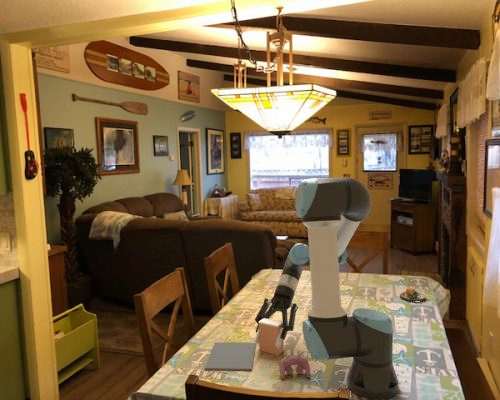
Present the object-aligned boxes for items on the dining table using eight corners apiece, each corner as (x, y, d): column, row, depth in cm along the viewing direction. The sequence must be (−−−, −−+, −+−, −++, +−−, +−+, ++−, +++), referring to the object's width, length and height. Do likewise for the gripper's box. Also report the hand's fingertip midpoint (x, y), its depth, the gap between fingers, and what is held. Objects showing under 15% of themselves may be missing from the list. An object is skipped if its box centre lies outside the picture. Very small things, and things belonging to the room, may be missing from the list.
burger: (429, 302, 200) (429, 287, 199) (404, 303, 200) (404, 288, 200) (419, 294, 212) (420, 280, 211) (396, 295, 212) (396, 280, 212)
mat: (251, 370, 140) (251, 368, 140) (204, 369, 142) (204, 368, 141) (256, 344, 160) (256, 342, 160) (214, 343, 161) (214, 342, 161)
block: (264, 346, 158) (264, 318, 157) (283, 350, 154) (282, 321, 153) (259, 350, 155) (258, 321, 154) (278, 355, 151) (277, 325, 150)
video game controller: (309, 377, 138) (307, 354, 140) (311, 378, 133) (309, 354, 136) (279, 379, 137) (278, 356, 140) (281, 379, 133) (279, 356, 136)
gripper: (313, 297, 160) (295, 355, 148) (266, 289, 171) (246, 342, 159) (307, 287, 155) (288, 346, 143) (259, 280, 166) (238, 334, 154)
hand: (266, 344), depth 151 cm, fingers closed on block, 8 cm apart
